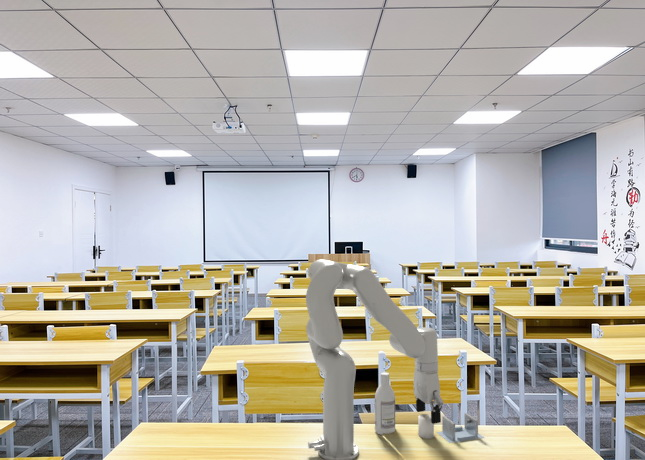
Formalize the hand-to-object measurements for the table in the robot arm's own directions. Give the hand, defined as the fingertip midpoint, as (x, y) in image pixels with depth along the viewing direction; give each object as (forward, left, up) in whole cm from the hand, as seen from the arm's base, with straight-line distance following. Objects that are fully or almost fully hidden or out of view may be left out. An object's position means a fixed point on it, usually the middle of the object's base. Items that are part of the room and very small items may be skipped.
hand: (428, 416), depth 147 cm
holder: (+10, -3, -7) cm, 13 cm away
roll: (-1, 0, -7) cm, 7 cm away
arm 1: (+6, -3, -6) cm, 9 cm away
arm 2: (+14, -3, -6) cm, 16 cm away
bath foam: (-12, +8, -7) cm, 16 cm away
